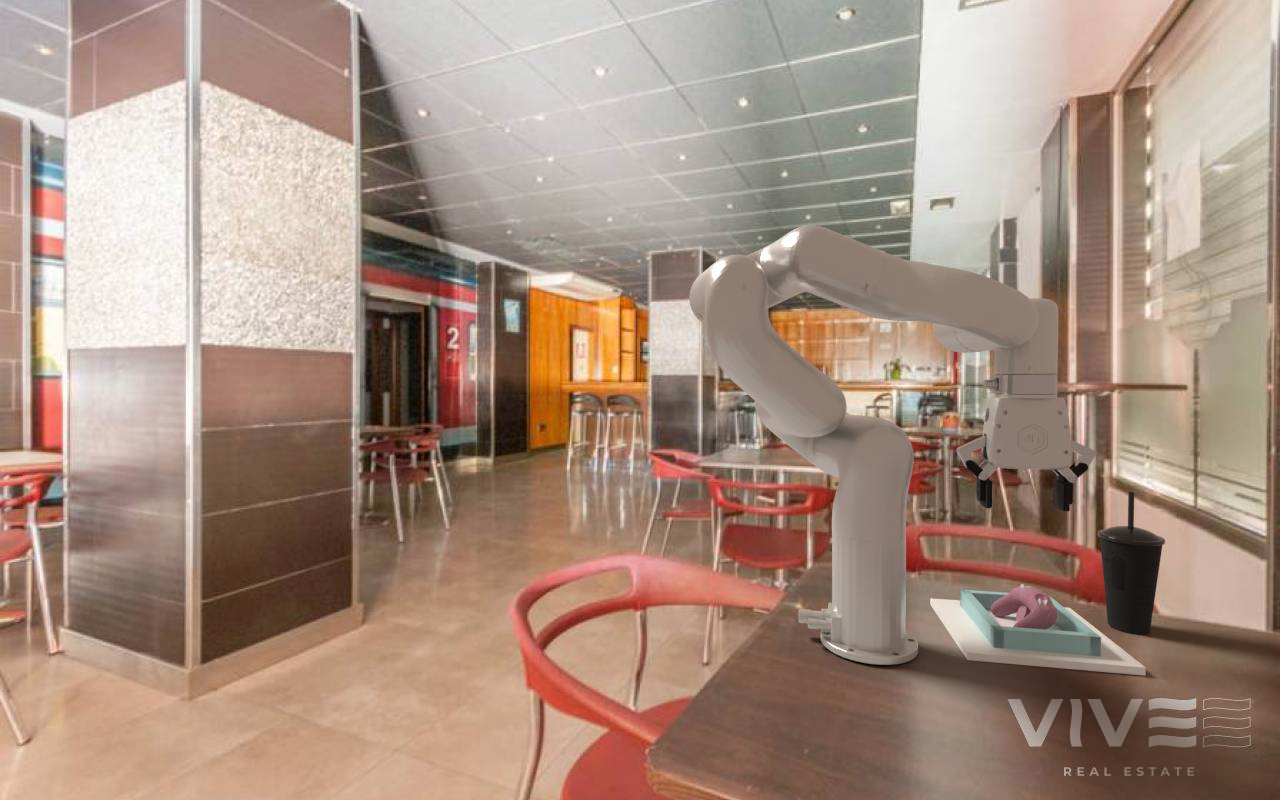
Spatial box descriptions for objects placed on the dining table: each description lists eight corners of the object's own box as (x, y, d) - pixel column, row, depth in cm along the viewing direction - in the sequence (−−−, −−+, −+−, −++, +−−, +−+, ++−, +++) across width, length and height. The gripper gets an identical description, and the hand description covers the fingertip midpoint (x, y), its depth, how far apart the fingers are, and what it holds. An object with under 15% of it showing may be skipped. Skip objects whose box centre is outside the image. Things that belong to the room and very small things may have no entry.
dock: (967, 660, 79) (967, 633, 79) (930, 604, 98) (930, 583, 98) (1145, 675, 74) (1146, 647, 74) (1069, 614, 94) (1069, 591, 94)
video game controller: (1044, 654, 81) (1071, 610, 80) (1010, 637, 82) (1037, 593, 81) (1016, 625, 91) (1040, 586, 90) (986, 610, 92) (1009, 570, 91)
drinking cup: (1173, 642, 83) (1176, 498, 83) (1107, 634, 86) (1109, 495, 85) (1149, 621, 91) (1151, 489, 90) (1088, 614, 93) (1090, 486, 93)
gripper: (965, 388, 83) (964, 510, 84) (1109, 387, 80) (1107, 516, 80) (950, 387, 91) (949, 500, 91) (1081, 387, 87) (1079, 505, 87)
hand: (1023, 507), depth 86 cm, fingers open, 9 cm apart
